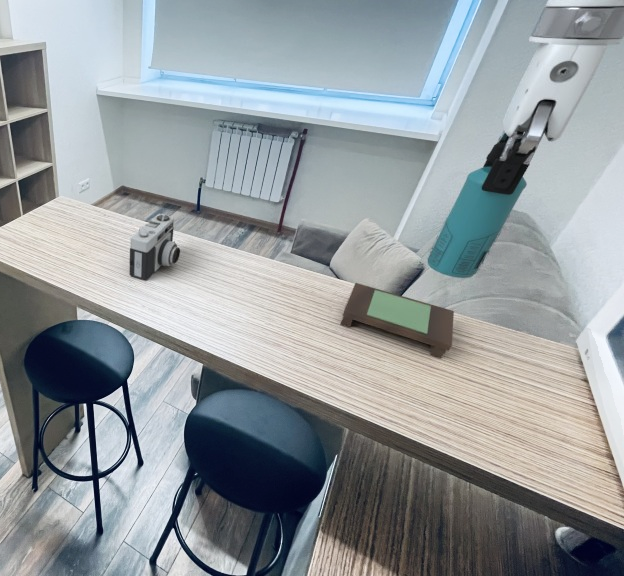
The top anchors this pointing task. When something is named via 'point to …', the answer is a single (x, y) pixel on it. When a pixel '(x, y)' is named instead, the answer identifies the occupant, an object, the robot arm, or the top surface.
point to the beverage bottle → (472, 224)
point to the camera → (153, 247)
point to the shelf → (401, 317)
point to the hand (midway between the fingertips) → (495, 182)
